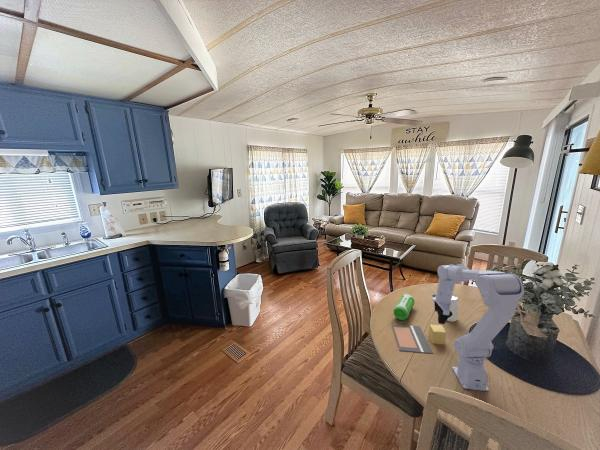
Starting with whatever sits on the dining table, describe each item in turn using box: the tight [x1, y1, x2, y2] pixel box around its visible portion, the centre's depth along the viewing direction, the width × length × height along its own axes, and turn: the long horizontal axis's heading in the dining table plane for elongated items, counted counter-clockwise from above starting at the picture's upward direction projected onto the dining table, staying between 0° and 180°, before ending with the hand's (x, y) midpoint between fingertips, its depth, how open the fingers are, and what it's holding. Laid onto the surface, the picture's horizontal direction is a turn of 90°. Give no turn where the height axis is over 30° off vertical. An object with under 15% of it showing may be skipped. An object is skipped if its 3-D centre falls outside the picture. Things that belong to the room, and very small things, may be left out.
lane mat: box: [391, 324, 434, 354], centre depth 111 cm, size 18×13×1 cm
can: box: [446, 294, 460, 323], centre depth 124 cm, size 6×6×12 cm
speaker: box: [393, 293, 416, 321], centre depth 131 cm, size 18×7×8 cm, turn 144°
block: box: [428, 324, 447, 345], centre depth 109 cm, size 5×5×6 cm
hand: (439, 317), depth 107 cm, fingers open, 7 cm apart
